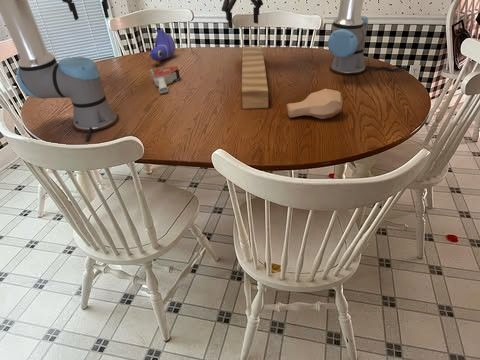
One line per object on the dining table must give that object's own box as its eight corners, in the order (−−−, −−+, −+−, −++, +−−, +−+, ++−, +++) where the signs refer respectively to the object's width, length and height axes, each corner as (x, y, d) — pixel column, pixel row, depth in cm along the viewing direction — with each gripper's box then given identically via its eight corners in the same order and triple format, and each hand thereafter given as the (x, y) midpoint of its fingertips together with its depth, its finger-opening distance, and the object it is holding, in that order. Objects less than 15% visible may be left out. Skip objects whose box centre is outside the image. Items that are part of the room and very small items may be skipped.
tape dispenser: (164, 98, 152) (192, 79, 164) (161, 86, 148) (191, 68, 161) (134, 89, 159) (163, 72, 172) (131, 78, 156) (161, 61, 168)
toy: (163, 61, 202) (144, 66, 180) (159, 29, 195) (138, 31, 173) (180, 60, 200) (162, 66, 177) (176, 28, 193) (156, 29, 171)
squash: (346, 119, 125) (347, 98, 118) (290, 129, 126) (288, 109, 120) (339, 102, 132) (339, 81, 126) (285, 111, 134) (283, 91, 128)
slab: (268, 107, 136) (268, 90, 132) (242, 108, 136) (241, 91, 132) (262, 59, 183) (262, 46, 179) (243, 60, 183) (242, 47, 179)
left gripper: (109, -41, 146) (122, 15, 159) (50, -37, 147) (67, 18, 159) (104, -39, 140) (117, 18, 153) (42, -36, 141) (60, 22, 153)
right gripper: (261, -32, 157) (261, 19, 169) (211, -26, 147) (215, 28, 159) (270, -31, 151) (270, 22, 164) (219, -25, 142) (223, 31, 154)
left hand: (92, 18), depth 156 cm, fingers open, 13 cm apart
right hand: (243, 25), depth 162 cm, fingers open, 13 cm apart
